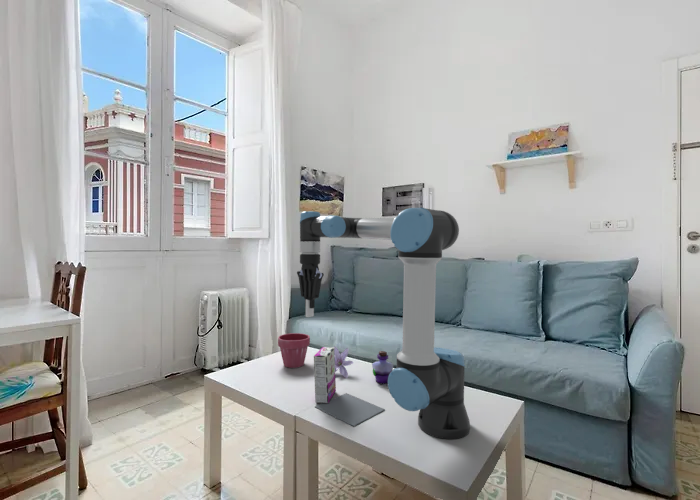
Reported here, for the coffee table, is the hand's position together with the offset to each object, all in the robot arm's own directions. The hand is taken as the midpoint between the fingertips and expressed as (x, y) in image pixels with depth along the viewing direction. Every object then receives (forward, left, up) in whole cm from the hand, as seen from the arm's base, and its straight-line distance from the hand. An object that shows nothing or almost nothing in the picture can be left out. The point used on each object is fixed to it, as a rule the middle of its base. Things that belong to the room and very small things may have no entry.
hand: (309, 316), depth 133 cm
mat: (-21, 0, -28) cm, 35 cm away
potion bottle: (-14, -26, -28) cm, 41 cm away
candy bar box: (-9, 0, -28) cm, 29 cm away
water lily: (+5, -19, -28) cm, 34 cm away
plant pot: (+27, -13, -28) cm, 41 cm away
